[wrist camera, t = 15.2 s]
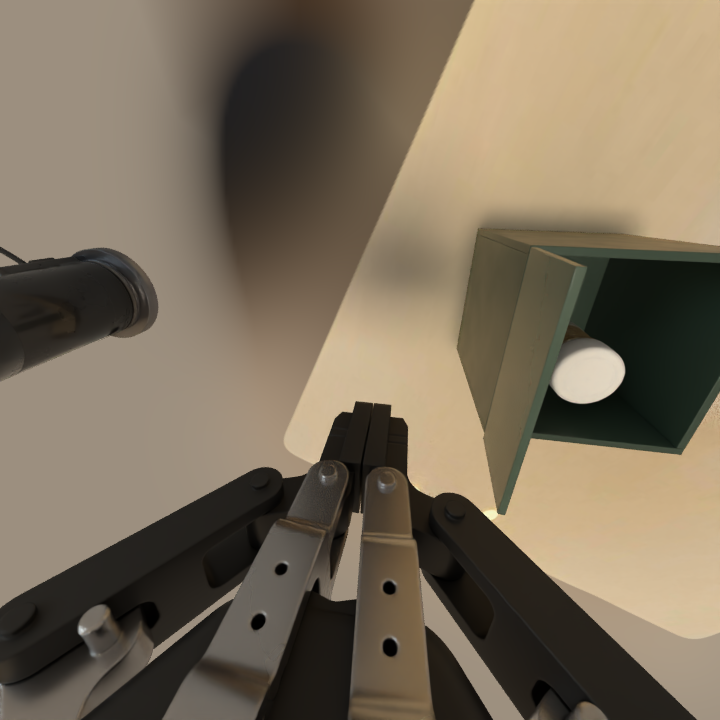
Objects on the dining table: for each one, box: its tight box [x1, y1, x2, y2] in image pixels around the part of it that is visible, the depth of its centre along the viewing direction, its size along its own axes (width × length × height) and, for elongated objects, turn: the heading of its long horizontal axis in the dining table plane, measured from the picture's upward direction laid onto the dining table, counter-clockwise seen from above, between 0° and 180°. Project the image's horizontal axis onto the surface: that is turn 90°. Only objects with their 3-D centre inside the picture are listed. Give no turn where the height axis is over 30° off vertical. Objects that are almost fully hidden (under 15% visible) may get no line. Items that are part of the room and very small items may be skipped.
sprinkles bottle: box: [549, 321, 625, 404], centre depth 28 cm, size 5×5×14 cm
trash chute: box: [457, 229, 720, 455], centre depth 26 cm, size 13×13×16 cm
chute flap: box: [483, 247, 587, 515], centre depth 17 cm, size 6×13×1 cm
